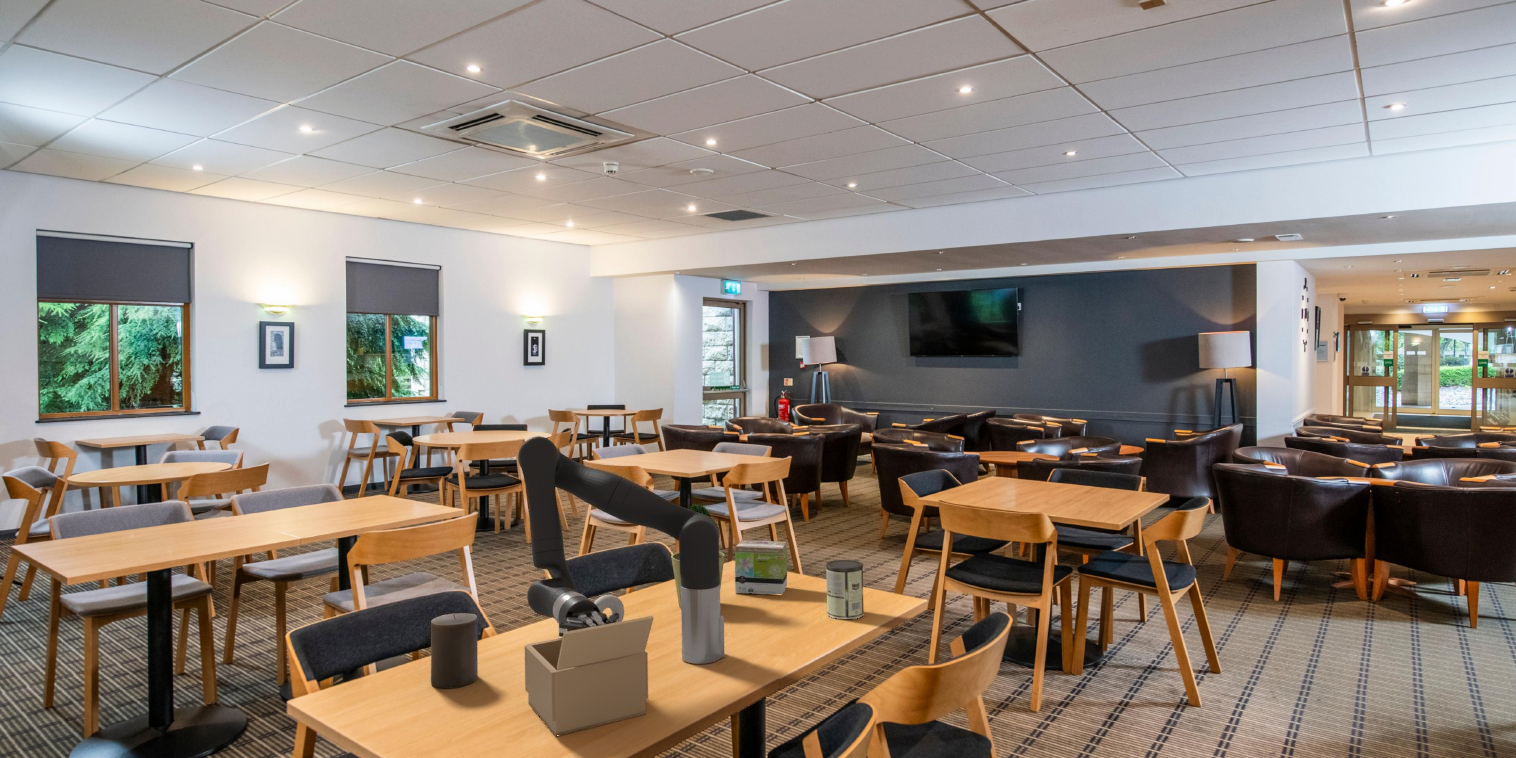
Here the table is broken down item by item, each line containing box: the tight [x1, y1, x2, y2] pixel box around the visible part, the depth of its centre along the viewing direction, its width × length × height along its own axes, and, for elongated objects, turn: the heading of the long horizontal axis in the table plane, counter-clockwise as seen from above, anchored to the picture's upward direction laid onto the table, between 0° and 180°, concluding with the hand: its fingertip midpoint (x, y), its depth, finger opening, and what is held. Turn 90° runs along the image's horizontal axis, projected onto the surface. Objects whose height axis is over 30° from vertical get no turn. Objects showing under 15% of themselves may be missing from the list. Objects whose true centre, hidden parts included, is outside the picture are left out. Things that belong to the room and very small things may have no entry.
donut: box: [593, 594, 625, 622], centre depth 209 cm, size 10×3×10 cm, turn 129°
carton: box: [524, 637, 649, 737], centre depth 161 cm, size 19×19×12 cm
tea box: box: [734, 539, 788, 595], centre depth 248 cm, size 15×10×15 cm, turn 80°
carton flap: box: [557, 615, 654, 670], centre depth 151 cm, size 17×9×1 cm
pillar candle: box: [430, 612, 479, 689], centre depth 178 cm, size 10×10×15 cm
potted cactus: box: [670, 503, 726, 609], centre depth 232 cm, size 15×15×30 cm
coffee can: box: [825, 559, 865, 620], centre depth 222 cm, size 10×10×14 cm
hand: (605, 637), depth 151 cm, fingers closed
